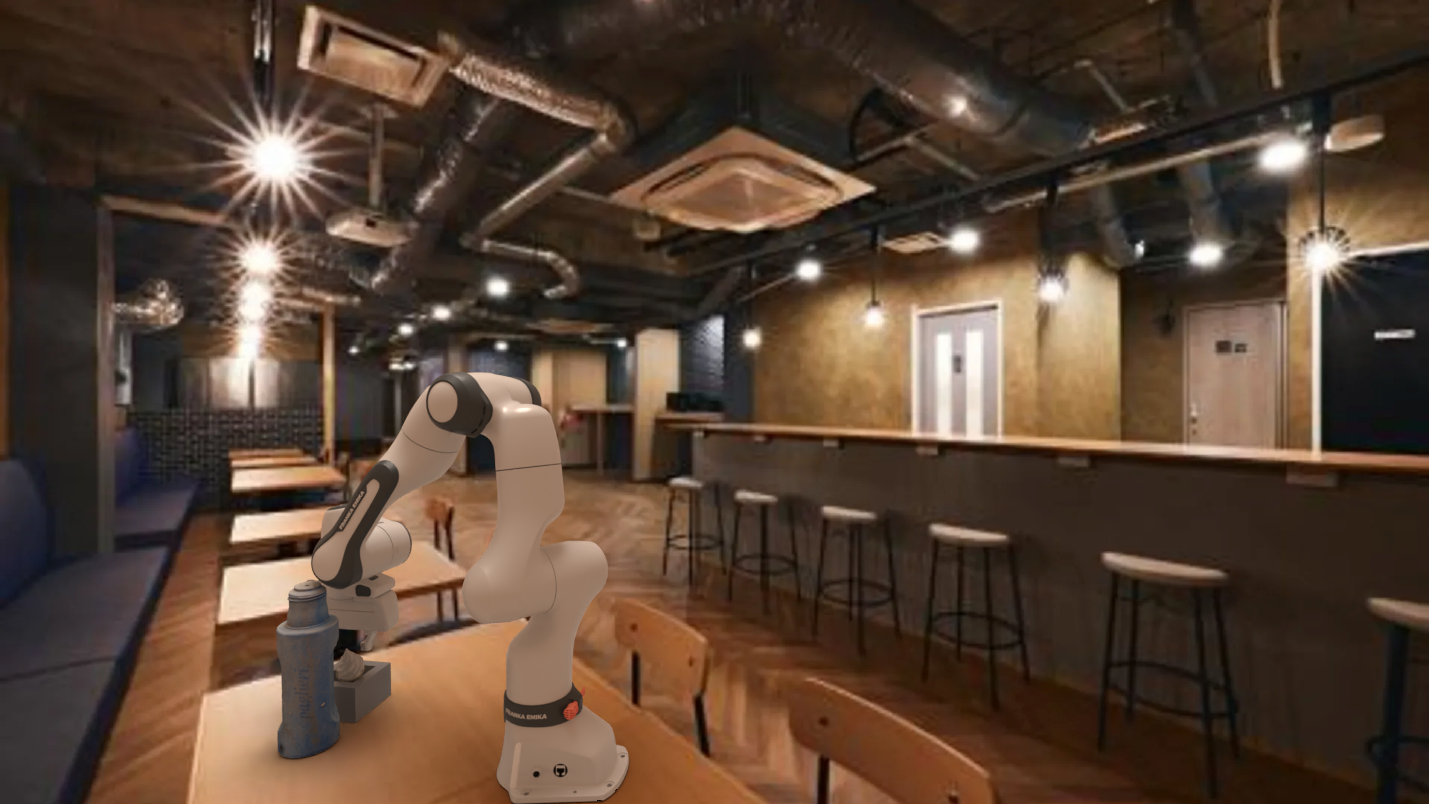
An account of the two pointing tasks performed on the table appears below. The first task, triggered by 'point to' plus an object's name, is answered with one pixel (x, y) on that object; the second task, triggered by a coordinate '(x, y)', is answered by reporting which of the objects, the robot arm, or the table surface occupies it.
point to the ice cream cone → (350, 667)
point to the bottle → (307, 673)
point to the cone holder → (362, 691)
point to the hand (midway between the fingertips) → (348, 648)
